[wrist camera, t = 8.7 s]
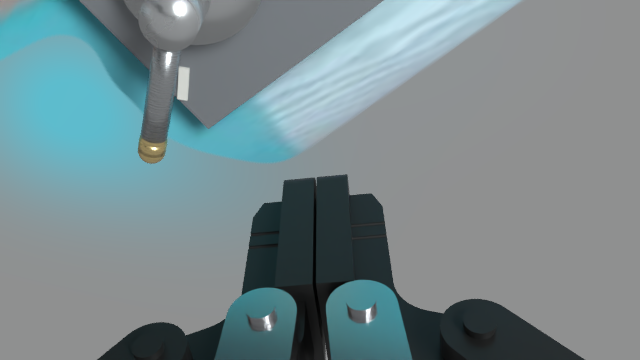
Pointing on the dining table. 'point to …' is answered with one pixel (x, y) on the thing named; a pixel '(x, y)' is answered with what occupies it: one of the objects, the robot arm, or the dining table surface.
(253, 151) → the dining table surface
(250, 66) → the switch base
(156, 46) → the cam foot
